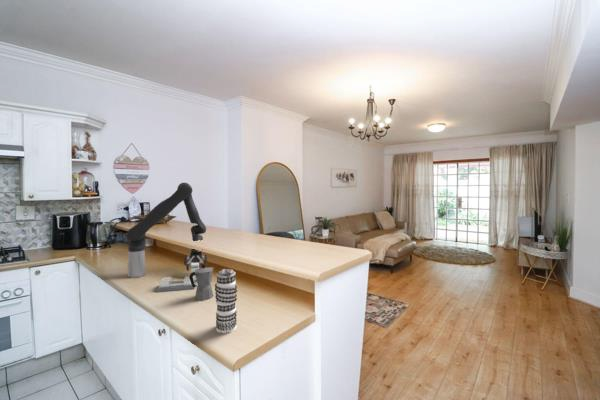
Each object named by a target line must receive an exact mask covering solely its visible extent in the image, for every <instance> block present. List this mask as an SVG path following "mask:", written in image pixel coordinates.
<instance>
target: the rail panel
mask: <svg viewBox="0 0 600 400" xmlns="http://www.w3.org/2000/svg"><path fill="white" fill-rule="evenodd" d="M189 276H190V275H185V277H184V279H183V280H174V281H173V278H172V276H167V277H162V278H161V280H159V285H158V287H157V288H156V293H163V292H164V293H165V292H174V291H186V290H187V291H188V290H195V288H196V287H193V286H192V284H191V281H190V278H189ZM193 281H194V285H197V281H196V278H195V277H194V276H193Z"/></svg>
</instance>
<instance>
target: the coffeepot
mask: <svg viewBox="0 0 600 400" xmlns="http://www.w3.org/2000/svg"><path fill="white" fill-rule="evenodd" d="M202 266H203V268H201V267H199V269H197V270H195V272H192V273H191V272H190V275H188V276H189V278H190V281H191V284H192V286H193V287H195V288H196V290H195V299H196V300H197V301H207V300H210V299H212V298H213V297H214V293H213V287H212V284H211V282H212V279H213V273H214V269H215V267H214V266H213V267H211V266H210V267H206V264H204V265H202ZM194 275H196V278H195V280H196V281H197V282H196V285H194V281H193V276H194Z"/></svg>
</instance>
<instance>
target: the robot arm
mask: <svg viewBox="0 0 600 400" xmlns="http://www.w3.org/2000/svg"><path fill="white" fill-rule="evenodd" d="M192 193H193V187H192V185H190V184H189V183H188V182H181V183H180V184H178V186H177V189H176V190H175V192H173V193H172V195H171V196H169V197H167V198H165V199H164V200H162V201H160V202H159V203H158V204H157V205H156V206H154V208H152V209H151V210H150V211H149V212H148V214H146V216H145V217H144V218H142V219H141V220H140V221H139V222H138V223H137V224H135V225H133V227H131V228H130V229H128V231H127V233H126V238H127V239H128V240H129V244H128V245H129V246H128V263H127V275H128V276H127V277H128V278H132V279H133V278H140V277H145V275H146V252H145V250H146V249H145V247H146V233H147V232H148V231H149V230H150V229H151V228H153V227H154V226H155V225H157V224H159V223H160V222H161V221H162V220H164V219H165V218H166V217H167V216H168V215H169V214H170V213H171V212H173V210H174V209H175V208H176V207H178V205H180V203H182V202H183V203H184V206H185V209H186V213H187V216H188V220H189V221H190V222H189V223H191V224H194V225H193V226H191V228H190V232H191V233H190V234H191V237H192V240H193V241H201V240H204V237H203V236H202V235H203V234H206V232H207V227H206V225H205V223H204V222H203V220H202V219H201V216H200V213H199V211H198V209H197V206H196V203H195V201H194V198H193V195H192ZM189 254H190V255H185V256H184V259H183V261H184V262H183V264H184V266H185V268H186V271H187V272H189V271H190V266H191V264H192V263H198V262H199V264H201V265H200V268H203V266H202V265H207V264H208V256H207V254H204V255H203V251H202V252H201V251H198V250H195V249H191V248H190V253H189ZM203 259H204V260H203Z"/></svg>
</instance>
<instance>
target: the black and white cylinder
mask: <svg viewBox="0 0 600 400" xmlns="http://www.w3.org/2000/svg"><path fill="white" fill-rule="evenodd" d="M236 274H237V272H236V271H234V270H233V269H231V268H224V269H220V270H219V271H218V272H217V273H216V275H215V276H216V282H215V284H214V291H215V304H216V307H217V308H216V313H215V316H216V317H215V319H216V321H215V325H216V326H215V329H216V332H217V333H219V332H222V333H221V334H227V333H226V332H229V333H231V331H232V332H234V331H236V329H237V327H238V326H237V325H238V323H237V322H238V319H237V313H238V312H237V306H236V302H237V300H238V298H237V297H238V296H237V295H238V294H237V293H238V290H237V289H238V286H237V285H236V283H237V282H236V281H237V280H236ZM233 330H234V331H233Z"/></svg>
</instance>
